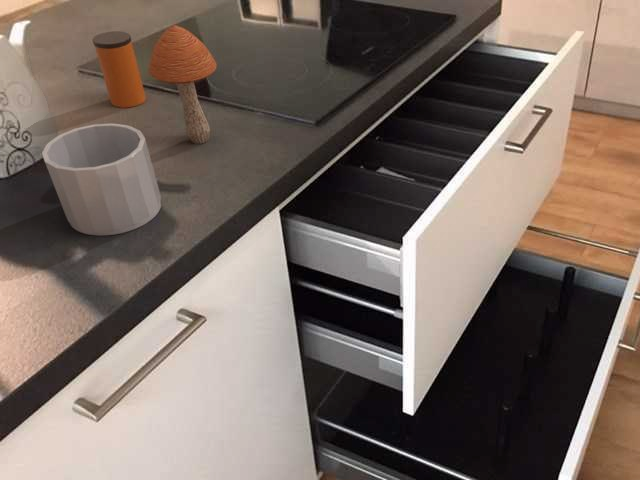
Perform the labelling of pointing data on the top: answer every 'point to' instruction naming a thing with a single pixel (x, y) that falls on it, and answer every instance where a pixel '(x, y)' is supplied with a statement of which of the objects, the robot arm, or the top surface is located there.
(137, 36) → the top surface
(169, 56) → the mushroom
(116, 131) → the faceted grey planter pot
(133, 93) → the tube
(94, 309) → the top surface
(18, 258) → the top surface
